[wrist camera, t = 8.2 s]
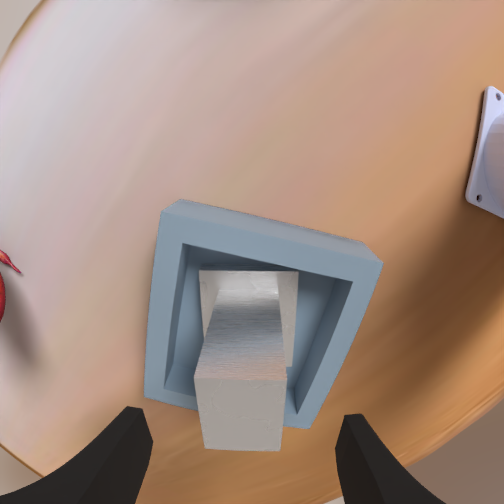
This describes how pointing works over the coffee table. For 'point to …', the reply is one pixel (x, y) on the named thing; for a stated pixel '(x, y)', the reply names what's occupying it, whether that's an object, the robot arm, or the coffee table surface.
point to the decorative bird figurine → (4, 259)
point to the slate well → (254, 252)
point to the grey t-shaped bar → (245, 354)
